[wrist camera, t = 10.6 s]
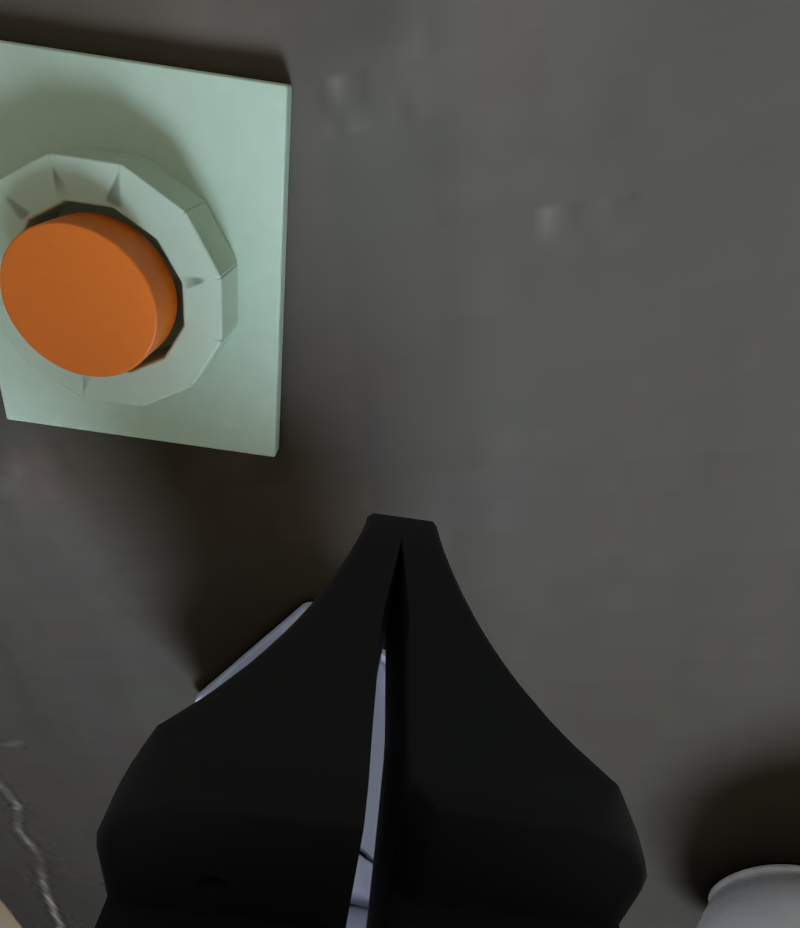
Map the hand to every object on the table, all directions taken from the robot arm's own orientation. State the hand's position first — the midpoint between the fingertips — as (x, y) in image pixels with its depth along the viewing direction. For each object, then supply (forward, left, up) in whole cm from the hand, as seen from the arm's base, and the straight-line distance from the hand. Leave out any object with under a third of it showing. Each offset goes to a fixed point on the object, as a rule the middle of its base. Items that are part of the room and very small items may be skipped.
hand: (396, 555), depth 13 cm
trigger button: (-4, +9, -8) cm, 13 cm away
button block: (-4, +9, -10) cm, 14 cm away
